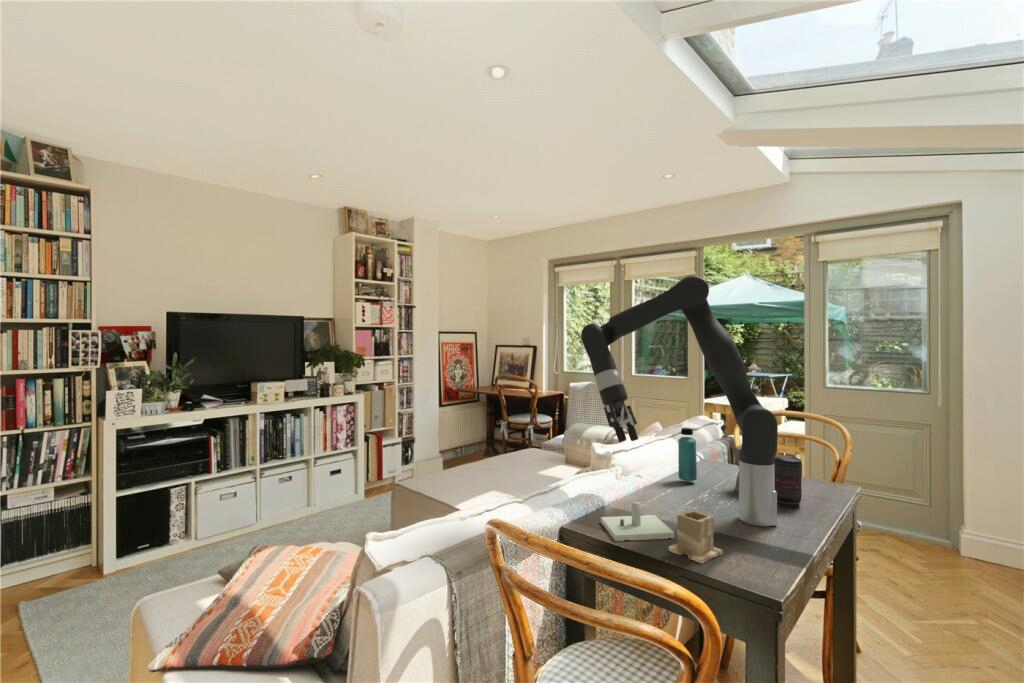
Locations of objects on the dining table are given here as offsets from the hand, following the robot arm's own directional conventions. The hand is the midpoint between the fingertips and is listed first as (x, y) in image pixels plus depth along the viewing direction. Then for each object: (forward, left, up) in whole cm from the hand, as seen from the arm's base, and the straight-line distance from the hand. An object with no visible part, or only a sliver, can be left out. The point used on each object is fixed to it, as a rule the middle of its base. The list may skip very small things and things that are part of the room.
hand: (629, 440), depth 137 cm
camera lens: (-49, -28, -24) cm, 61 cm away
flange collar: (-16, +15, -24) cm, 32 cm away
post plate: (-2, +4, -24) cm, 24 cm away
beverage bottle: (-21, -46, -24) cm, 56 cm away
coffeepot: (-41, -41, -24) cm, 62 cm away
